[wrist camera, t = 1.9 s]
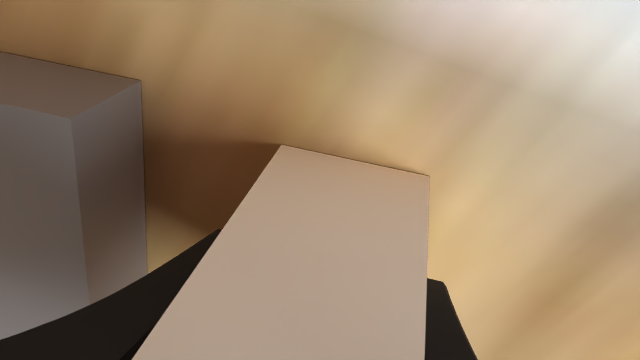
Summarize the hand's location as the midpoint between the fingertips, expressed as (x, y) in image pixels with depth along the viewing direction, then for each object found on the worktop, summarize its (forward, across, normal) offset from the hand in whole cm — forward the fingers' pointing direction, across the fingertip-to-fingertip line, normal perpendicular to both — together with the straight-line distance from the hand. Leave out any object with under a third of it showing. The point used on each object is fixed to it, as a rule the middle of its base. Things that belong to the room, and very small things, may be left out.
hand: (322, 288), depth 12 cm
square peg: (+3, 0, 0) cm, 3 cm away
